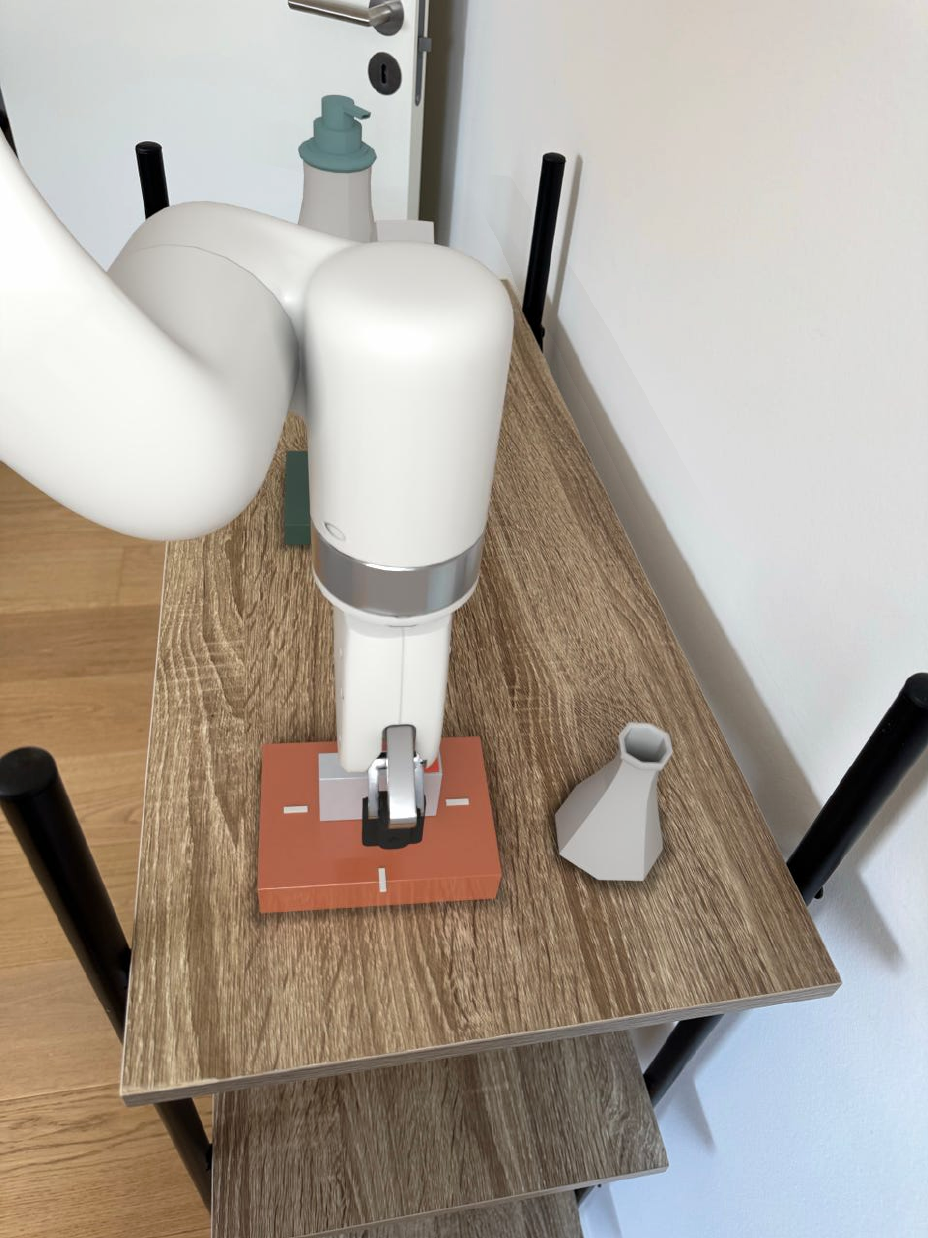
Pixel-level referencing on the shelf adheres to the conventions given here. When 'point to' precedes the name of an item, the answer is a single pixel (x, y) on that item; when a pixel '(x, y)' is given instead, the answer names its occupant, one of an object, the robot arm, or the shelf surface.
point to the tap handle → (363, 788)
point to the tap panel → (371, 876)
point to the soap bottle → (338, 172)
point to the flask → (618, 810)
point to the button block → (297, 499)
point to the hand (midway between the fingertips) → (386, 765)
